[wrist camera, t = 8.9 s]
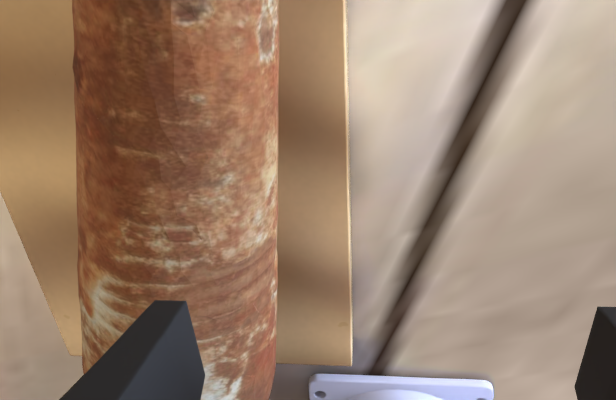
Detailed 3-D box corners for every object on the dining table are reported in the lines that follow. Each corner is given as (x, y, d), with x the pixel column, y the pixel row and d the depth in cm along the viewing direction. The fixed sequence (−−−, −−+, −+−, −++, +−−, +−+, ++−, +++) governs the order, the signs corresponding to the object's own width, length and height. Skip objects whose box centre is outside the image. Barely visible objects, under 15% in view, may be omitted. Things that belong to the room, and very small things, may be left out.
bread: (124, 333, 22) (58, 463, 18) (88, -279, 12) (-98, -358, 7) (277, 360, 22) (252, 498, 18) (379, -229, 12) (383, -274, 7)
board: (353, 338, 23) (352, 367, 22) (84, 330, 25) (69, 356, 23) (339, -405, 11) (335, -435, 10) (-178, -344, 13) (-238, -363, 12)
